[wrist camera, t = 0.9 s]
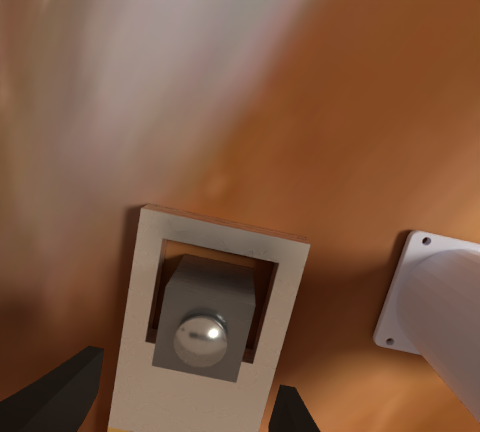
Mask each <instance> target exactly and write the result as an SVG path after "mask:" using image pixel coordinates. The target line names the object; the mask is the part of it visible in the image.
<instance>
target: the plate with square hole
mask: <svg viewBox="0 0 480 432" xmlns="http://www.w3.org/2000/svg"><path fill="white" fill-rule="evenodd" d="M168 239H169V240H174V241H178V242H183V243H188V244H192V245H197V246H202V247H207V248H211V249H216V250H221V251H225V252H230V253H235V254H239V255H244V256H249V257H253V258H258V259H263V260H267V261H272V262H275V264H274V268H273V272H272V275H271V279H270V283H269V287H268V291H267V295H266V299H265V303H264V307H263V311H262V314H261V318H260V322H259V326H258V330H257V334H256V338H255V342H254V346H253V349H249V348H245V350H244V354H243V358H242V362H241V366H240V370H239V374H238V378H237V382H236V383H234V382H229V381H224V380H219V379H214V378H209V377H204V376H199V375H194V374H189V373H184V372H180V371H175V370H170V369H165V368H160V367H155V366H152V360H153V354H154V349H155V343H156V338H157V332H158V330H157V329H152V326H153V320H154V315H155V309H156V303H157V297H158V292H159V286H160V280H161V274H162V268H163V263H164V257H165V251H166V245H167V240H168ZM309 248H310V243H309V242H308V240H307V239H306V237H302V236H297V235H292V234H288V233H283V232H278V231H274V230H269V229H265V228H260V227H255V226H251V225H246V224H241V223H237V222H232V221H228V220H223V219H218V218H214V217H209V216H205V215H200V214H195V213H191V212H186V211H181V210H177V209H172V208H168V207H163V206H158V205H154V204H147V205H146V206H144V207H142V208H141V212H140V219H139V225H138V232H137V239H136V245H135V252H134V259H133V265H132V272H131V278H130V285H129V292H128V298H127V305H126V312H125V318H124V325H123V331H122V338H121V345H120V351H119V358H118V365H117V371H116V378H115V384H114V391H113V398H112V404H111V411H110V418H109V424H108V431H107V432H258V431H259V428H260V424H261V420H262V417H263V413H264V410H265V406H266V403H267V399H268V395H269V392H270V388H271V385H272V381H273V377H274V374H275V370H276V367H277V363H278V359H279V356H280V352H281V349H282V345H283V342H284V338H285V334H286V331H287V327H288V324H289V320H290V316H291V313H292V309H293V306H294V302H295V299H296V295H297V291H298V288H299V284H300V281H301V277H302V273H303V270H304V266H305V263H306V259H307V256H308V252H309Z"/></svg>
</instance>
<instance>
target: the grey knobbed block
mask: <svg viewBox="0 0 480 432" xmlns="http://www.w3.org/2000/svg"><path fill="white" fill-rule="evenodd" d="M254 310H255V289H254V271H253V268H250V267H245V266H241V265H236V264H231V263H227V262H222V261H217V260H213V259H208V258H203V257H198V256H194V255H189V254H185V255H184V256H183V258H182V260H181V261H180V263H179V265H178V267H177V268H176V270H175V272H174V273H173V275H172V277H171V279H170V280H169V282H168V284H167V285H166V287H165V293H164V298H163V304H162V309H161V315H160V321H159V326H158V332H157V338H156V343H155V349H154V354H153V360H152V366H155V367H160V368H165V369H170V370H175V371H180V372H184V373H189V374H194V375H199V376H204V377H209V378H214V379H219V380H224V381H229V382H234V383H236V382H237V378H238V374H239V370H240V366H241V362H242V358H243V354H244V350H245V346H246V342H247V338H248V334H249V330H250V326H251V322H252V318H253V314H254Z"/></svg>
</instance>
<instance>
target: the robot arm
mask: <svg viewBox="0 0 480 432" xmlns="http://www.w3.org/2000/svg"><path fill="white" fill-rule="evenodd" d="M425 237H427V241H426V242H425V243H422V240H423V239H424V238H425ZM389 338H391V340H390V341H388V342H386V340H387V339H389ZM373 340H374V342H375V343H376V344H377V345H378V346H380V347H385V348H390V349H395V350H400V351H404V352H409V353H414V354H419V355H422V356H423V357H424V358H425V360H426V361H427V362H428V363H429V364H430V366H431V367H432V368H433V369H434V370H435V371H436V373H437V374H438V375H439V376H440V377H441V379H442V380H443V381H444V382H445V383H446V384H447V386H448V387H449V388H450V389H451V390H452V392H453V393H454V394H455V395H456V396H457V398H458V399H459V400H460V401H461V402H462V403H463V405H464V406H465V407H466V408H467V409H468V411H469V412H470V413H471V414H472V415H473V416H474V418H475V419H476V420H477V421H478V422H479V424H480V244H479V243H474V242H470V241H465V240H460V239H456V238H451V237H447V236H442V235H438V234H433V233H428V232H424V231H419V230H414V231H412V232H410V233H409V235H408V237H407V240H406V243H405V245H404V248H403V251H402V254H401V257H400V260H399V263H398V266H397V268H396V271H395V274H394V277H393V280H392V283H391V286H390V289H389V291H388V294H387V297H386V300H385V303H384V306H383V309H382V312H381V314H380V317H379V320H378V323H377V326H376V329H375V332H374V335H373ZM103 353H104V349H102V348H97V347H92V346H88V347H86V348H85V349H83V350H82V351H80V352H79V353H77V354H76V355H75V356H73V357H72V358H70V359H69V360H67V361H66V362H64V363H63V364H61V365H60V366H58V367H57V368H55V369H54V370H52V371H51V372H49V373H48V374H46V375H45V376H43V377H42V378H40V379H39V380H37V381H35V382H34V383H32V384H30V385H29V386H27V387H25V388H24V389H22V390H20V391H19V392H17V393H15V394H14V395H12V396H10V397H8V398H7V399H5V400H3V401H1V402H0V432H77V430H78V429H79V427H80V426H81V424H82V422H83V421H84V419H85V417H86V415H87V413H88V411H89V409H90V408H91V406H92V403H93V401H94V399H95V397H96V395H97V393H98V389H99V382H100V374H101V367H102V360H103ZM269 432H320V430H319V428H318V427H317V425H316V423H315V422H314V420H313V418H312V417H311V415H310V413H309V411H308V410H307V408H306V406H305V404H304V402H303V401H302V399H301V397H300V395H299V393H298V392H297V390H296V388H295V387H290V386H285V385H280V387H279V391H278V394H277V398H276V401H275V405H274V408H273V412H272V415H271V419H270V422H269Z"/></svg>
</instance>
